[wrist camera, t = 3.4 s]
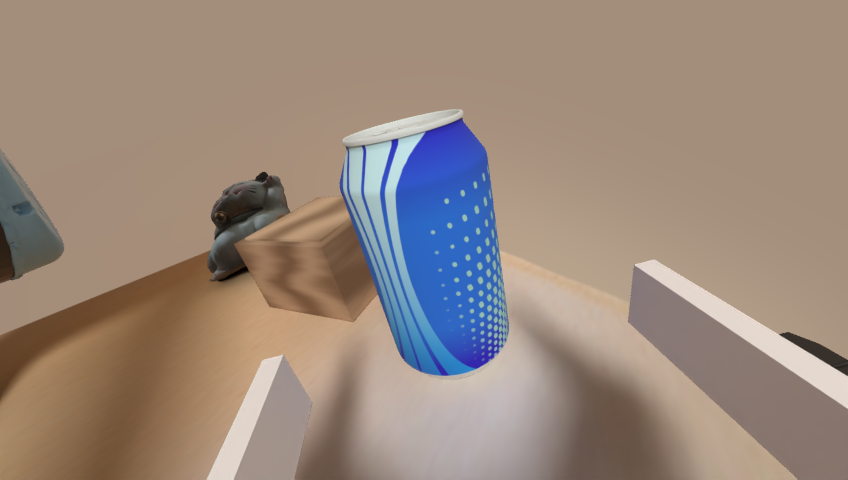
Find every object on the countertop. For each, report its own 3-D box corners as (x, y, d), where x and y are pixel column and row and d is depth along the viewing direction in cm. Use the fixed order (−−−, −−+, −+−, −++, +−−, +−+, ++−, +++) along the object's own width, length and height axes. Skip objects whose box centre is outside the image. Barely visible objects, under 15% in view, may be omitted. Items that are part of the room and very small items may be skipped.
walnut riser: (269, 306, 33) (232, 242, 30) (337, 250, 43) (316, 196, 39) (353, 321, 28) (320, 244, 24) (411, 253, 37) (393, 190, 33)
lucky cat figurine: (192, 291, 41) (156, 198, 42) (265, 273, 52) (236, 199, 53) (267, 252, 36) (225, 146, 36) (330, 241, 47) (297, 160, 48)
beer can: (434, 297, 28) (388, 119, 21) (524, 315, 24) (503, 97, 17) (379, 366, 23) (290, 153, 15) (485, 409, 18) (428, 132, 11)
